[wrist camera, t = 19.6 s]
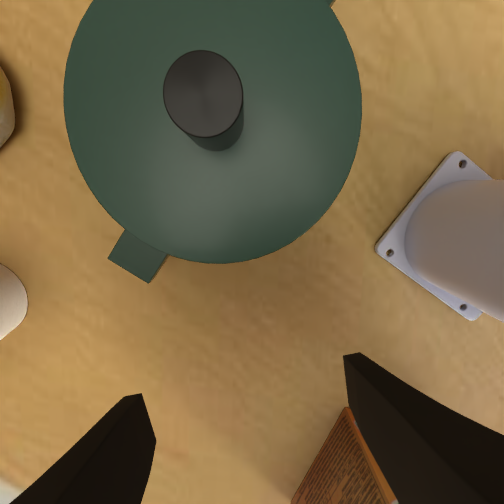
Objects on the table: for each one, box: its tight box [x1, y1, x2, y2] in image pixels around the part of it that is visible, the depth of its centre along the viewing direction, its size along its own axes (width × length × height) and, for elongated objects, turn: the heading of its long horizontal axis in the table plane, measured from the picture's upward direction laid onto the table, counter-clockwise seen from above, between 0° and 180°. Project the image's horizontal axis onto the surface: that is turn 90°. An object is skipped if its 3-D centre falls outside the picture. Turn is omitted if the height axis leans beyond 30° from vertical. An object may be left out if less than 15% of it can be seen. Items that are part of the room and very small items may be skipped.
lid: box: [64, 0, 362, 264], centre depth 11 cm, size 12×12×5 cm
